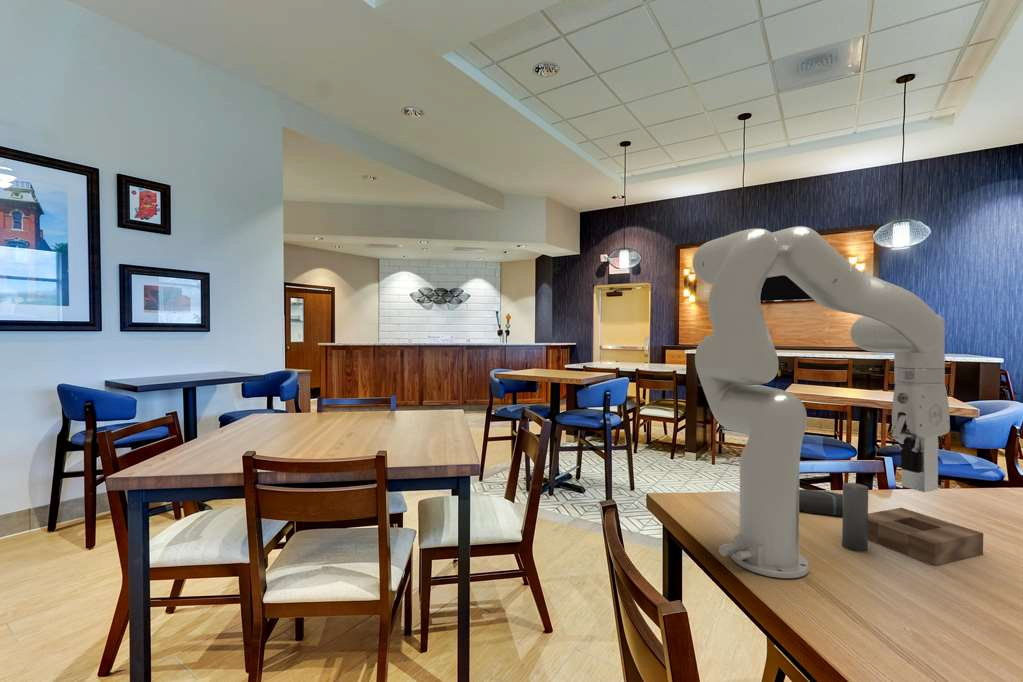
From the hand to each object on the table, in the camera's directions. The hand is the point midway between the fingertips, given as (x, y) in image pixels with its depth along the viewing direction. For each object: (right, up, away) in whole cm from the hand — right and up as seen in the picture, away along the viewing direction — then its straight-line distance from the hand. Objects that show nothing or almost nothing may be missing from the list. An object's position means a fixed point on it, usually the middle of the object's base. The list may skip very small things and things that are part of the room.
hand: (919, 468), depth 94 cm
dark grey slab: (-15, -15, +16) cm, 27 cm away
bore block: (0, -15, 0) cm, 15 cm away
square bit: (0, -4, 0) cm, 4 cm away
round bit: (-14, -15, -1) cm, 20 cm away
